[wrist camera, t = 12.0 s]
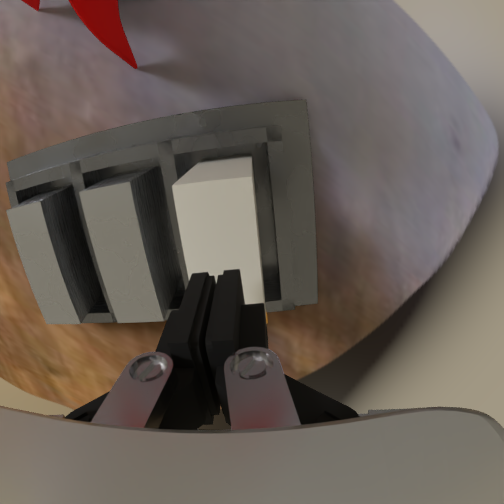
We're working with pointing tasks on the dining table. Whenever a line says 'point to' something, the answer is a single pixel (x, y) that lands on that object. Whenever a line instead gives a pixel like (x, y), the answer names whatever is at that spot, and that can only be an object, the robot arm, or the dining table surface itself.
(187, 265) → the block
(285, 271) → the rack
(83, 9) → the rocket
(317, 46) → the dining table surface
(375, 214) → the dining table surface
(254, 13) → the dining table surface
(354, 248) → the dining table surface
